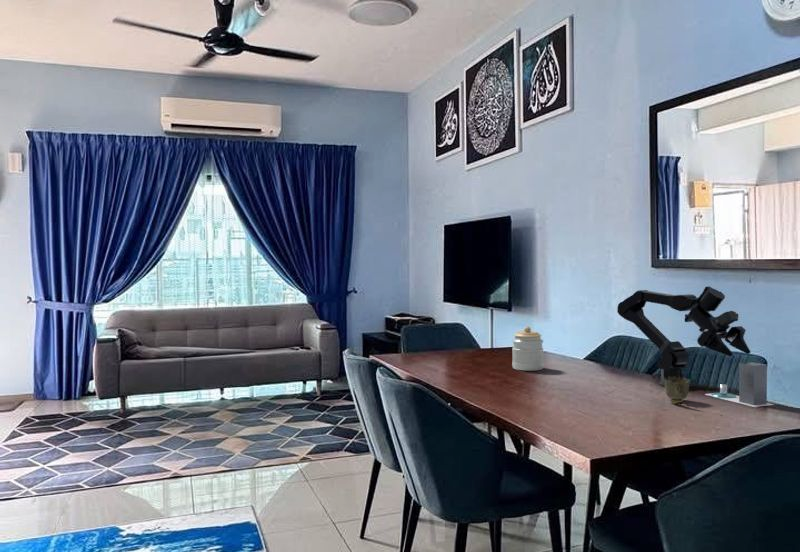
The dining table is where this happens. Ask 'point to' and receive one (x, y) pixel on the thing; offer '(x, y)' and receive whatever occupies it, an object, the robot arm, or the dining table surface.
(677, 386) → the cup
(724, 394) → the teal base with post
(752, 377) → the tall grey box
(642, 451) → the dining table surface
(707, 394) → the mounting plate
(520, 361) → the jar
